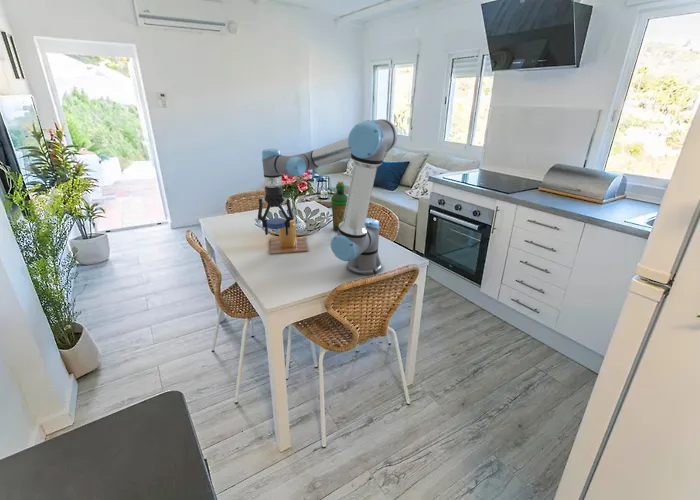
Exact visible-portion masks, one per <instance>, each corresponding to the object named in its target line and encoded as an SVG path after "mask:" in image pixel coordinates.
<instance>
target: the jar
mask: <svg viewBox="0 0 700 500" xmlns="http://www.w3.org/2000/svg"><path fill="white" fill-rule="evenodd" d="M283 219H285V220H286V218H285V217H284V218H283ZM278 235H279V238H280V245H281V246H282V247H293V246H295V245H296V237H297V229H296V223H295V219H293V220H290V228H288V235H286V226H285V227H284V228H280V229H278Z"/></svg>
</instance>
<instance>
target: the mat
mask: <svg viewBox="0 0 700 500" xmlns="http://www.w3.org/2000/svg"><path fill="white" fill-rule="evenodd" d="M307 252H308V247H307V242H306V239H305V236H304V237H303V238H297V239H296V245H295V246H293V247H282V246H281V245H280V237H270V255H277V254H278V255H280V254H294V253H307Z"/></svg>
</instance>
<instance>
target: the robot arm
mask: <svg viewBox="0 0 700 500" xmlns="http://www.w3.org/2000/svg"><path fill="white" fill-rule="evenodd" d="M397 141H398V131H397V128H396V126H395V124H394V123H392V122H391V121H389V120H388V119H383V118H382V119H381V118H380V119H372V120H369V119H367V120H363V121H361V122H359V123H357V124H356V125H354V126H353V127H352V128H351V129H350V131H349V133H348V137H346V138H344V139H342V140H337V141H335V142H332V143H329V144H326V145H324V146H321V147H319V148H316V149H313V150H310V151H306V152H303V153H297V154H293V155H282V154H281V150H280V149H278V148H265V149H262V152H261V156H262V157H261V161H262V169H263V183H264V193H265V194H264V195H265V196H264V197H259V199H258V212H257V221H261V225H262V228H264V235H265V236H268V234H269V228H268V227H267V225H266V221H267V220H268V219H266V218H267V216H268V213H269V211H270V210H271V208H273V207H274V208H275V207H276V208H279V210H280V212H281V213H282V215H283V217H284V218H286V221H285V226H286V235H288V228H290V220H293V219H294V218H295V215H294V213H293V208H292V204H291V197H284V194H283V193H284V192H283V191H284V190H283V186H282V185H283V177H282V175H286V176H287V175H288V176H292V177H301V176H303V175H304V174H305V172H308V171H311V170H316V169H318V168H320V167H325V166H328V165H330V164H333V163H337V162H340V161H344V160H346V159H349V158H350V159H351V161H352V162H353V165H352V171H351V177H350V182H349V187H348V193H347V195H348V198H347V204H346V209H345V215H344V220H343V222H341V223H340V224H339V226H338V231H336V232H337V233H336V235H334V236H333V237H332V239H331V241H330V250H331V251H332V253H333V254H334V256H335V257H336V258H338V260H341V261H343V262H347V269H348V270H349V271H350V272H351V273H353V274H356V275H357V274H358V275H364V276H367V275H377V273H379V272H380V271H381V270H382V261H381V258H380V254H379V239H380V230H381V229H380V221H378V220H377V219H375V218H371V217H368V216H367V215H368V211H369V207H370V202H371V197H372V193H373V188H374V184H375V179H376V175H377V170H378V168H379V167H380V166H382V165H383V163H384V158H385V154H386V152H388V151H390V150H392V149H393V148H394V146H395V145H396V144H397ZM265 202H266V203H267V206H266V208H265V211H264V213H263V207H264V203H265ZM283 202H284V203H285V204H286V207H287V210H286V208H285V207H284V204H283ZM287 211H288V212H287ZM262 215H263V216H262ZM294 220H295V219H294Z"/></svg>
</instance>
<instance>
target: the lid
mask: <svg viewBox="0 0 700 500" xmlns="http://www.w3.org/2000/svg"><path fill="white" fill-rule="evenodd" d="M266 220H267V221H266V225H267V227H268V229H271V230H279V229H280V228H284V227H285V221H286V220H285V219H284V218H283V217H273V218H269V219H266Z"/></svg>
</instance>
